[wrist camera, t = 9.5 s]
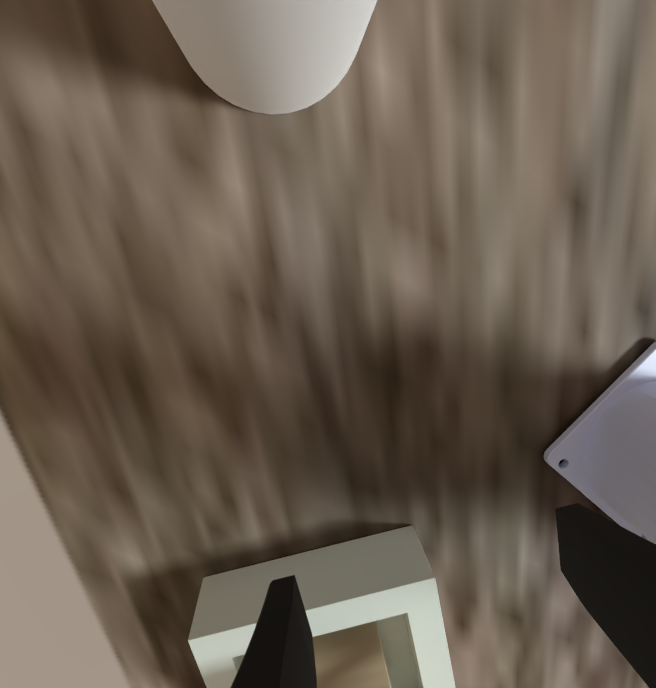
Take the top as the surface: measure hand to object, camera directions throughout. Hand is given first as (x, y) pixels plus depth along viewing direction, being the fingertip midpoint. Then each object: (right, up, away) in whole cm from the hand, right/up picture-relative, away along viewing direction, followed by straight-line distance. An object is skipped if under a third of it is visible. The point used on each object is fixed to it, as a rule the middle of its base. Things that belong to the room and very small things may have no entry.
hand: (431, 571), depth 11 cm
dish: (-3, -10, +12) cm, 16 cm away
